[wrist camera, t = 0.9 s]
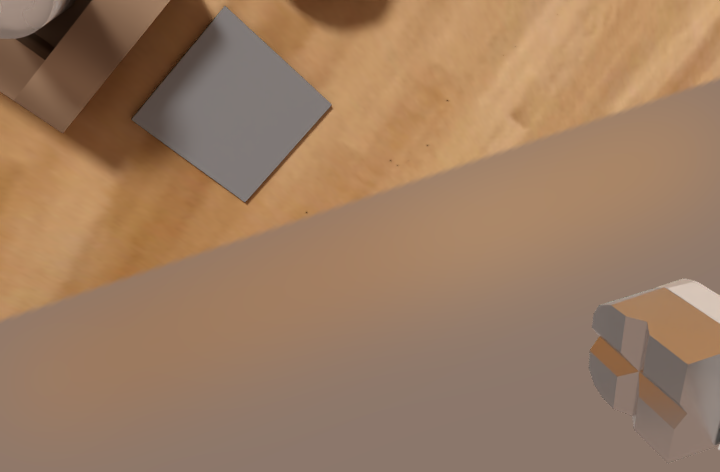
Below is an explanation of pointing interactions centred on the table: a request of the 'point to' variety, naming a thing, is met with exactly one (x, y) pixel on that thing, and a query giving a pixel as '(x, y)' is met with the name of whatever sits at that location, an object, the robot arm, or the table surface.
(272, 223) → the table surface
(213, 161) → the mat
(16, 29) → the part
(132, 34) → the pocket block
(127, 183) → the table surface
